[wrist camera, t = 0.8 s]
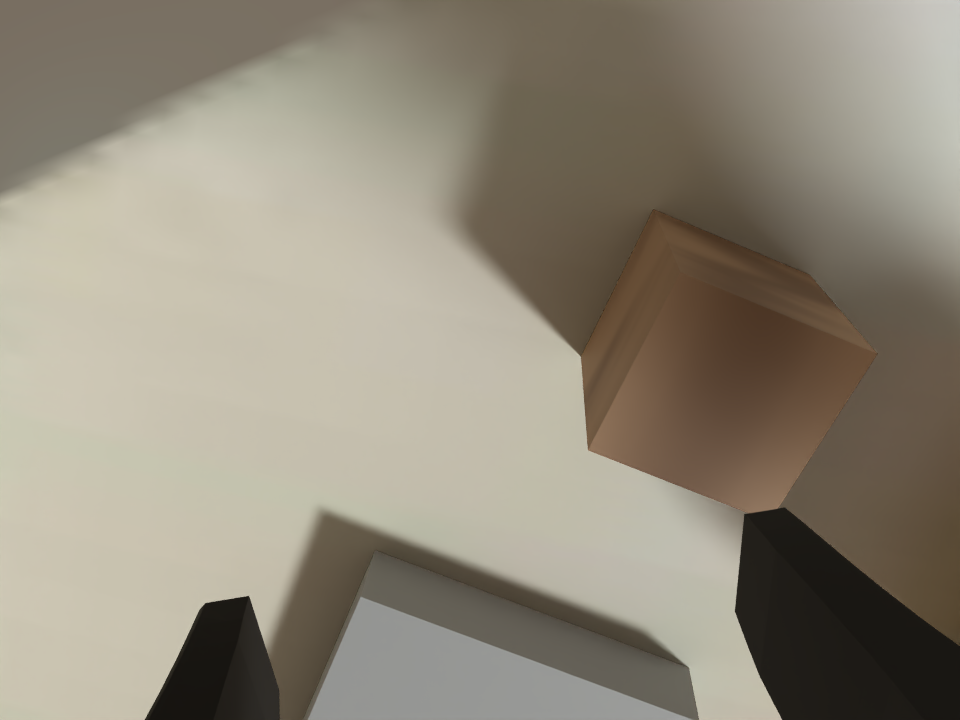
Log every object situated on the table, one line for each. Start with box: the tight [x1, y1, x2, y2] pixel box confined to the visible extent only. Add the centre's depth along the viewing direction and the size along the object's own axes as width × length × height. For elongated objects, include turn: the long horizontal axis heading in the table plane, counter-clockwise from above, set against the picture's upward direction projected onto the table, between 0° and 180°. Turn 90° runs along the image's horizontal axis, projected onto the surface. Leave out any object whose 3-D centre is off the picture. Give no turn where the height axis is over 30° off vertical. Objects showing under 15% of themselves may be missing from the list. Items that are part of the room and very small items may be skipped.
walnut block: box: [581, 209, 877, 513], centre depth 24 cm, size 5×5×6 cm
